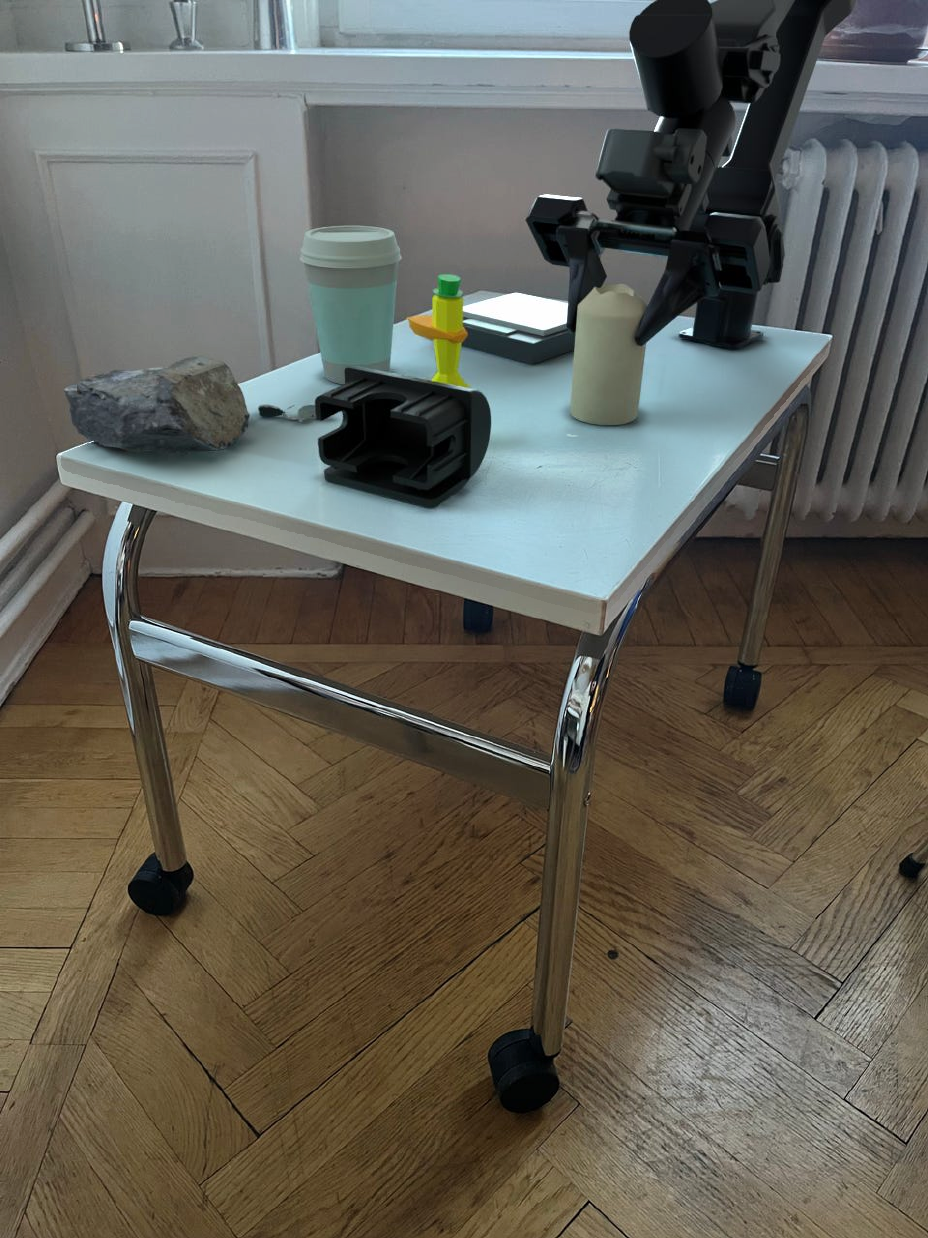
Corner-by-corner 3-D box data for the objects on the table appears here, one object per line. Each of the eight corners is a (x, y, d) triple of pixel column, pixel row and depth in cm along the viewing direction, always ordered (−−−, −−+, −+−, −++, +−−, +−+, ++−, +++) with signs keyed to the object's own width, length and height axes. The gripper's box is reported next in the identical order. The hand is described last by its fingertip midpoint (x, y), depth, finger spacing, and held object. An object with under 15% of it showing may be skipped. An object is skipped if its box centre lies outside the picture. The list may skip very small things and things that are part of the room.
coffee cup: (420, 368, 84) (418, 229, 78) (375, 396, 78) (369, 246, 71) (340, 356, 87) (332, 221, 81) (290, 382, 80) (277, 236, 74)
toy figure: (395, 431, 71) (390, 269, 64) (430, 421, 73) (428, 262, 66) (453, 457, 66) (454, 286, 60) (488, 445, 69) (493, 278, 62)
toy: (224, 428, 72) (227, 417, 73) (325, 422, 72) (327, 412, 74) (220, 413, 71) (224, 403, 73) (323, 407, 71) (325, 397, 73)
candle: (636, 428, 72) (651, 297, 66) (566, 423, 73) (575, 293, 67) (638, 405, 76) (653, 281, 71) (573, 400, 77) (582, 277, 72)
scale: (512, 314, 101) (513, 290, 100) (610, 337, 94) (612, 311, 92) (431, 338, 93) (431, 311, 91) (532, 364, 86) (533, 336, 84)
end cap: (491, 473, 64) (494, 378, 60) (439, 511, 59) (439, 410, 55) (373, 445, 68) (369, 355, 65) (315, 478, 63) (307, 382, 59)
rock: (266, 422, 73) (261, 354, 70) (216, 473, 63) (207, 396, 60) (93, 410, 74) (81, 343, 71) (18, 459, 64) (1, 383, 61)
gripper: (544, 77, 69) (461, 255, 67) (789, 86, 60) (702, 290, 59) (584, 181, 79) (512, 338, 77) (800, 201, 70) (725, 379, 68)
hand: (603, 336), depth 70 cm, fingers closed on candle, 5 cm apart
